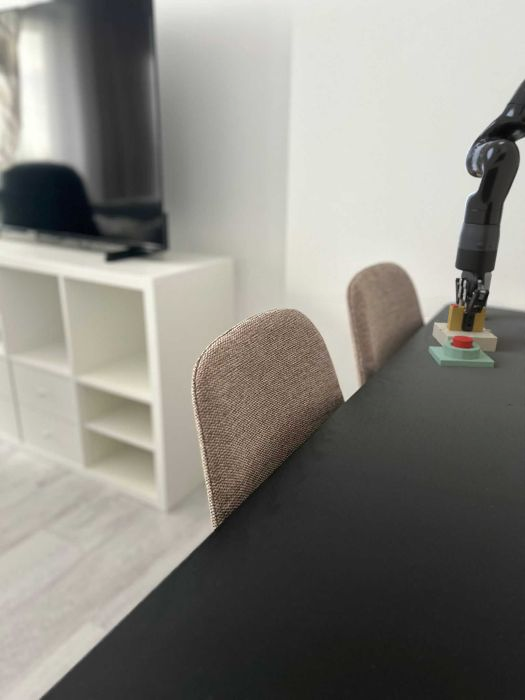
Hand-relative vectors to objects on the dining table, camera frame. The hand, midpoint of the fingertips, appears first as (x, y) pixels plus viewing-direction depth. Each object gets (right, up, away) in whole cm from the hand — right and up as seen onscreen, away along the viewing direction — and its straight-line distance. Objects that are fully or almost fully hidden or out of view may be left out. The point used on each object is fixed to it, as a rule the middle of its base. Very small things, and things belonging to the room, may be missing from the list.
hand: (464, 328), depth 109 cm
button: (-4, -4, -10) cm, 11 cm away
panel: (0, -3, +1) cm, 3 cm away
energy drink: (+11, +4, +22) cm, 24 cm away
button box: (-4, -6, -9) cm, 12 cm away
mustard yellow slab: (0, 0, 0) cm, 0 cm away
